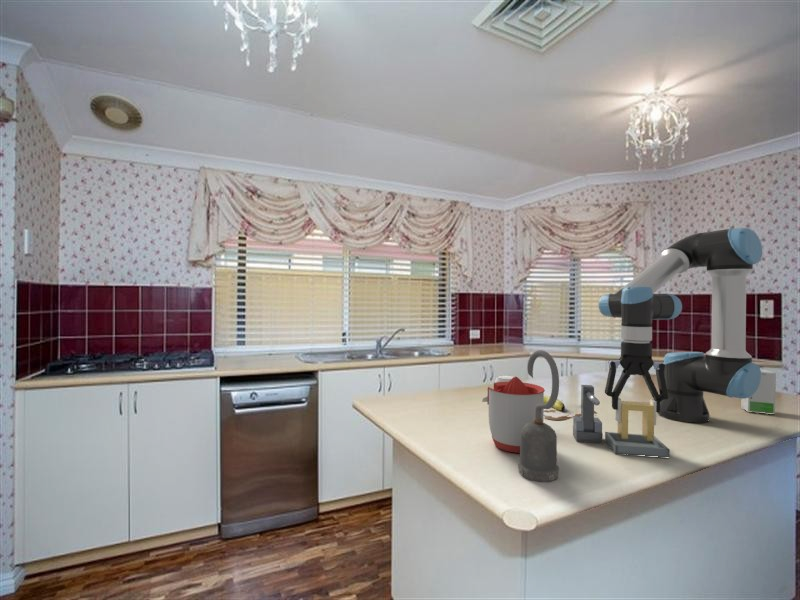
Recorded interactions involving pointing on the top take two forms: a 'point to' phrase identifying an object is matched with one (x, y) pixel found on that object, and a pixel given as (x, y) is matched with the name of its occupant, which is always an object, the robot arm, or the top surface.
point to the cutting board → (559, 407)
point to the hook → (540, 434)
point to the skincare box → (762, 395)
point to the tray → (636, 445)
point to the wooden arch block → (646, 421)
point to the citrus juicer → (512, 411)
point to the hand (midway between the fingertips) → (635, 422)
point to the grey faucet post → (587, 418)
